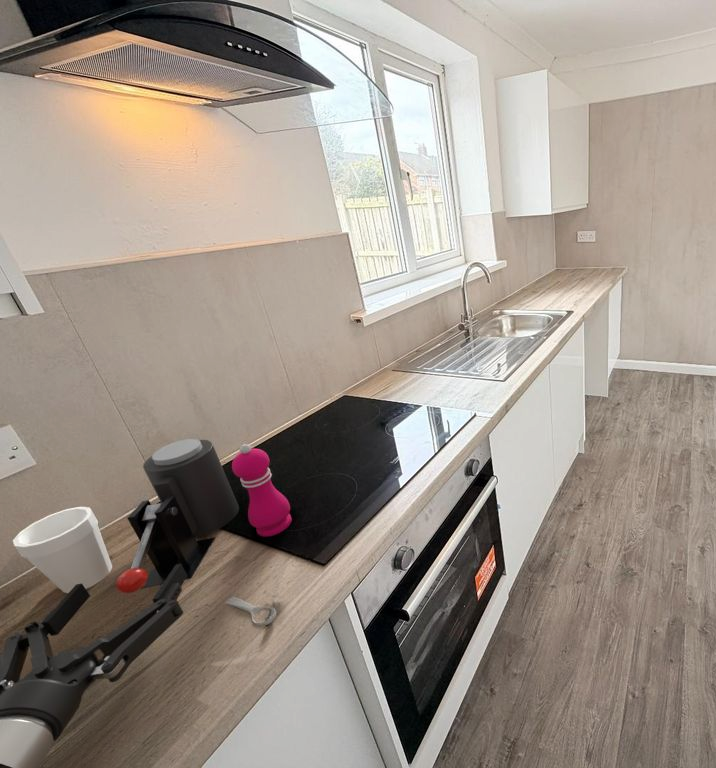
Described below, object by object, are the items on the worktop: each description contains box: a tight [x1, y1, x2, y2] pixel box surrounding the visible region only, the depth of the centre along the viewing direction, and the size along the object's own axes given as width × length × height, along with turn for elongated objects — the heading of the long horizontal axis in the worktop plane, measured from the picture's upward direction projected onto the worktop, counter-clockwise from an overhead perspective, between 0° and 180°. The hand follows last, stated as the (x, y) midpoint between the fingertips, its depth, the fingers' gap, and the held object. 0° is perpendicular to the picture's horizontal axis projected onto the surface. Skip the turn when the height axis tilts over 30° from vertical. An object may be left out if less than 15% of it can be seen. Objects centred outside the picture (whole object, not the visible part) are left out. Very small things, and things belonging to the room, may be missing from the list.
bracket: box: [126, 496, 217, 590], centre depth 73 cm, size 10×8×14 cm
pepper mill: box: [231, 443, 293, 538], centre depth 79 cm, size 7×7×20 cm
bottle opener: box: [225, 596, 277, 626], centre depth 66 cm, size 3×12×2 cm, turn 67°
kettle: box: [142, 438, 240, 539], centre depth 83 cm, size 16×11×18 cm
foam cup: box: [12, 506, 113, 594], centre depth 72 cm, size 10×9×13 cm
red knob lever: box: [115, 502, 162, 594], centre depth 68 cm, size 14×4×4 cm, turn 12°
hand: (133, 579), depth 64 cm, fingers open, 13 cm apart
